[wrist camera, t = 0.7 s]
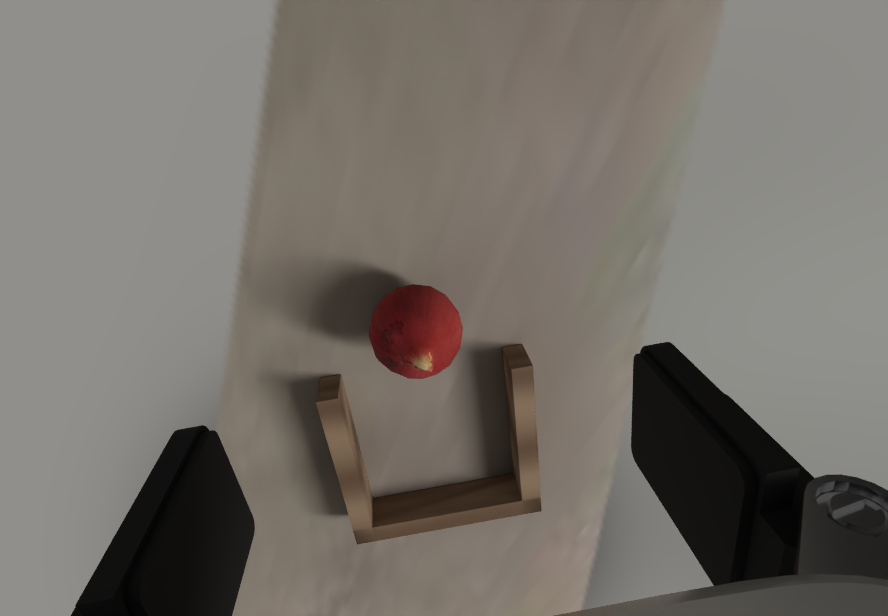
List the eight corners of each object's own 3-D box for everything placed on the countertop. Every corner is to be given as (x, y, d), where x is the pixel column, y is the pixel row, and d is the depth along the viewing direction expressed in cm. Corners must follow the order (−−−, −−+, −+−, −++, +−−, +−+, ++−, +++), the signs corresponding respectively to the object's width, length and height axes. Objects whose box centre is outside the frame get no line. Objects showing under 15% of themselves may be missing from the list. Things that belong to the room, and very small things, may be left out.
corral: (320, 377, 37) (315, 402, 35) (522, 344, 38) (532, 365, 35) (358, 514, 44) (357, 544, 41) (531, 483, 44) (541, 510, 42)
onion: (384, 351, 37) (384, 420, 30) (359, 280, 34) (353, 337, 27) (462, 330, 37) (481, 395, 30) (443, 257, 34) (459, 309, 27)
